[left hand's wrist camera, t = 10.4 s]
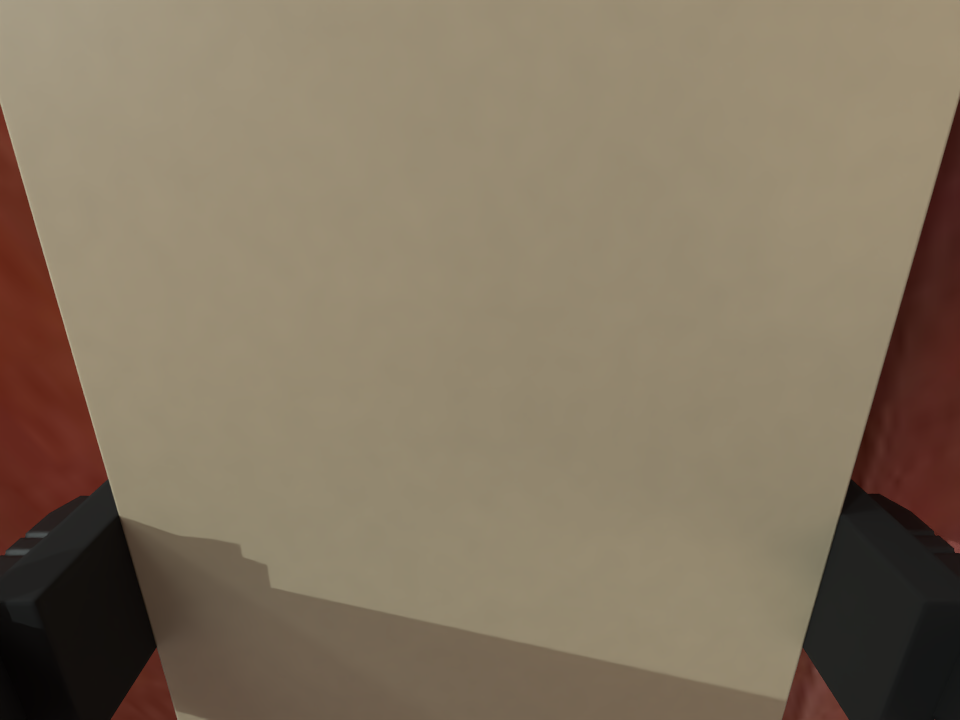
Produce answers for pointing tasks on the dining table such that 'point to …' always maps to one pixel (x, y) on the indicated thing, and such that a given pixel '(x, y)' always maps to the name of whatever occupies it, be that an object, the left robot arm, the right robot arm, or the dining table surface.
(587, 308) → the cream rectangular box
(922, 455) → the dining table surface
